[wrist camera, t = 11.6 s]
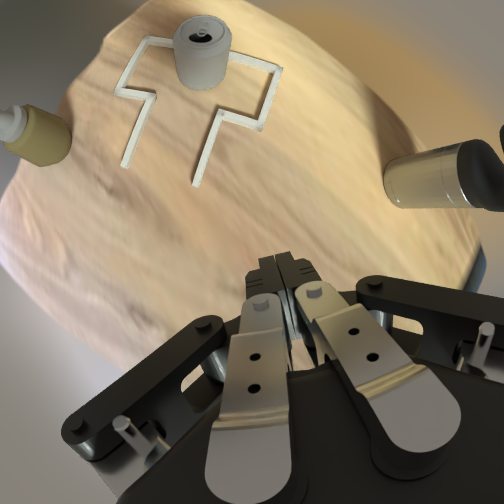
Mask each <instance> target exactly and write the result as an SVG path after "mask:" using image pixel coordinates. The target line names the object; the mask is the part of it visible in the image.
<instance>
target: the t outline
mask: <svg viewBox="0 0 504 504" xmlns="http://www.w3.org/2000/svg"><path fill="white" fill-rule="evenodd" d="M172 41H173V39H168V38H161V37H152V36H144V38H143V40H142V41H141V43H140V44H139V46H138V48H137V49H136V51H135V53H134V54H133V56H132V58H131V60H130V61H129V63H128V65H127V67H126V69H125V71H124V72H123V74H122V76H121V78H120V80H119V82H118V84H117V86H116V88H115V90H114V92H113V93H114V94H115V96H117V97H123V98H130V99H135V100H141V101H145V104H144V106H143V108H142V110H141V113H140V115H139V117H138V120H137V122H136V125H135V127H134V130H133V132H132V135H131V137H130V140H129V143H128V145H127V148H126V151H125V154H124V156H123V159H122V162H121V165H120V166H121V167H122V168H125V169H129V168H130V165H131V162H132V159H133V156H134V153H135V151H136V148H137V145H138V142H139V140H140V137H141V135H142V132H143V129H144V127H145V124H146V122H147V120H148V117H149V115H150V112H151V110H152V108H153V106H154V103H155V101H156V99H157V96H156V94H154V93H149V92H143V91H138V90H131V89H125V88H126V86H127V84H128V82H129V80H130V78H131V76H132V74H133V72H134V70H135V69H136V67H137V65H138V63H139V61H140V59H141V58H142V56H143V54H144V52H145V51H146V49H147V47H148V46H149V45H153V46H160V47H167V48H173V42H172ZM228 60H229V61H233V62H236V63H240V64H243V65H246V66H250V67H253V68H256V69H259V70H262V71H265V72H268V73H271V74H274V75H273V78H272V80H271V83H270V86H269V89H268V92H267V94H266V97H265V100H264V103H263V106H262V109H261V112H260V115H259V117H258V120H254V119H251V118H248V117H245V116H242V115H238V114H235V113H232V112H229V111H225V110H222V109H218V112H217V115H216V117H215V120H214V122H213V125H212V128H211V130H210V133H209V136H208V139H207V141H206V144H205V147H204V150H203V153H202V156H201V159H200V162H199V164H198V167H197V170H196V173H195V177H194V180H193V183H192V186H193V187H197V188H199V186H200V183H201V180H202V177H203V174H204V171H205V168H206V165H207V162H208V159H209V156H210V153H211V150H212V147H213V145H214V142H215V139H216V136H217V133H218V131H219V128H220V125H221V122H222V120H225V121H228V122H231V123H235V124H238V125H241V126H244V127H248V128H251V129H254V130H257V131H260V132H261V131H262V129H263V126H264V123H265V120H266V117H267V114H268V111H269V108H270V105H271V102H272V99H273V96H274V93H275V90H276V88H277V85H278V82H279V79H280V76H281V73H282V70H283V68H282V67H280V66H277V65H274V64H271V63H268V62H265V61H262V60H259V59H256V58H252V57H249V56H246V55H242V54H239V53H235V52H231V51H229V57H228Z"/></svg>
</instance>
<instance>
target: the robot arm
mask: <svg viewBox="0 0 504 504" xmlns="http://www.w3.org/2000/svg"><path fill="white" fill-rule="evenodd" d="M500 141H501V145H502V149H503V152H504V125H503V126H502V127H501V129H500ZM384 188H385V191H386V194H387V196H388V198H389V199H390V200H391V202H392V203H393V204H394V205H396V206H397V207H399V208H402V209H408V208H484V209H486V210H489V211H495V212H504V164H503V163H502V161H501V160H500V159H499V157H498V156H497V154H496V153H495V151H494V150H493V149H492V147H491V146H490V145H489V144H488V143H486V142H485V141H483V140H478V139H474V140H470V141H465V142H461V143H457V144H453V145H449V146H445V147H441V148H436V149H433V150H428V151H424V152H420V153H416V154H413V155H409V156H405V157H401V158H397V159H394V160H392V161H391V162H390V163H389V164H388V165H387V167H386V169H385V172H384ZM258 260H259V266H260V269H257V270H253V271H249V273H248V274H247V275H246V277H245V281H246V301H245V302H244V303H243V305H242V310H241V315H240V316H238V317H236V318H235V319H232V320H230V321H228V322H225V323H224V322H223V320H222V318H221V317H219V316H216V315H207V316H203V317H200V318H197V319H195V320H194V321H192V322H191V323H189V324H188V325H187V326H186V327H184V328H183V329H182V330H181V331H179V332H178V333H177V334H176V335H174V336H173V337H172V338H171V339H169V340H168V341H167V342H165V343H164V344H163V345H162V346H160V347H159V348H158V349H156V350H155V351H154V352H153V353H151V354H150V355H149V356H147V357H146V358H145V359H144V360H142V361H141V362H140V363H138V364H137V365H136V366H135V367H133V368H132V369H131V370H129V371H128V372H127V373H126V374H124V375H123V376H122V377H120V378H119V379H118V380H116V381H115V382H114V383H112V384H111V385H110V386H109V387H107V388H106V389H105V390H103V391H102V392H101V393H100V394H98V395H97V396H95V397H94V398H93V399H92V400H90V401H89V402H87V403H86V404H85V405H83V406H82V407H81V408H80V409H78V410H77V411H75V412H74V413H73V414H71V415H70V416H69V417H68V418H67V419H66V420H65V422H64V424H63V426H62V429H61V436H62V438H63V440H64V441H65V442H66V443H67V444H68V445H69V446H70V447H71V448H72V449H74V450H75V451H76V452H77V453H78V454H79V455H80V457H81V458H82V459H83V460H84V461H86V462H87V463H88V464H89V465H91V466H92V467H93V468H94V469H95V470H96V472H97V473H98V474H99V476H100V477H101V478H102V479H103V481H104V482H105V483H106V484H107V486H108V487H109V488H110V489H111V491H112V492H113V493H114V494H115V495H116V497H117V498H118V501H117V503H116V504H504V298H499V297H494V296H489V295H483V294H478V293H473V292H467V291H462V290H457V289H451V288H446V287H440V286H435V285H430V284H424V283H419V282H414V281H408V280H403V279H398V278H392V277H387V276H381V275H373V276H367V277H364V278H362V279H361V280H359V281H358V282H357V284H356V291H346V292H339V291H337V290H336V289H335V288H334V287H333V286H332V285H331V284H330V283H328V282H325V281H322V279H321V278H320V276H319V275H318V273H317V271H316V270H315V268H314V267H313V265H312V264H311V262H310V261H308V260H306V259H304V258H302V259H298V260H294V258H293V257H292V255H291V253H290V251H288V252H284V253H280V254H276V255H275V259H274V256H273V255H272V256H268V257H263V258H259V259H258ZM275 260H276V262H275ZM276 264H277V265H276ZM393 315H397V316H401V317H405V318H409V319H413V320H416V321H418V322H419V323H420V324H421V325H422V327H423V335H420V334H416V333H413V332H409V331H405V330H402V329H398V328H394V327H393ZM292 325H293V327H292ZM293 329H294V332H295V335H296V339H300V338H303V341H304V347H305V352H306V354H307V357H308V359H309V361H310V363H311V365H312V368H313V369H310V370H301V371H294V365H293V357H292V352H291V349H292V344H291V341H293V340H295V337H294V332H293ZM198 365H201V367H202V369H203V371H204V373H203V374H202V375H201V376H200V377H199V378H198V379H197V380H196V381H195V382H194V383H192V384H191V385H190V386H189V387H188V388H187V389H186V390H185V391H184V392H183V393H182V391H181V383H182V381H183V379H184V378H185V377H186V376H187V375H188V374H190V373H191V372H192V371H193V370H194V369H195V368H196V367H197V366H198Z"/></svg>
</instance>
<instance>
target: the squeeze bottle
mask: <svg viewBox="0 0 504 504" xmlns="http://www.w3.org/2000/svg"><path fill="white" fill-rule="evenodd" d="M0 140H2V141H3V143H4V146H5V147H6V149H7V150H8V151H10V152H12V153H14V154H16V155H17V156H19V157H21V158H23V159H25V160H27V161H29V162H30V163H32V164H34V165H37V166H39V167H44V166H49V165H52V164H56V163H58V162H60V161H62V160H63V159H64V158H65V157H66V156H67V154H68V152H69V150H70V148H71V142H72V140H71V135H70V132H69V129H68V127H67V124H66V123H65V122H64V120H63V119H62V118H60V117H57V116H55V115H53V114H51V113H48V112H46V111H44V110H41V109H39V108H37V107H34V106H32V105H28V104H27V105H24V106H21V107H20V106H18V105H13V106H10V107H9V108H8V109H7V110H6V111H2V110H0Z"/></svg>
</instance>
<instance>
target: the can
mask: <svg viewBox="0 0 504 504" xmlns="http://www.w3.org/2000/svg"><path fill="white" fill-rule="evenodd" d="M231 40H232V34H231V32H230V30H229V28H228V27H227V25H226V23H225V22H223V21H222V20H221V19H219V18H217V17H215V16H210V15H198V16H194V17H191V18H189V19H187V20H185V21H184V22H183V23H181V24H180V26H179V27H178V29H177V30H176V32H175V33H174V35H173V41H172V42H173V49H174V55H175V61H176V68H177V74H178V77H179V80H180V82H181V83H182V84H183V85H184V86H186V87H188V88H189V89H193V90H207V89H211V88H213V87H215V86H217V85H218V84H219V83H220V82H221V81H222V80H223V79H224V76H225V74H226V68H227V62H228V57H229V51H230V46H231Z"/></svg>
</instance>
